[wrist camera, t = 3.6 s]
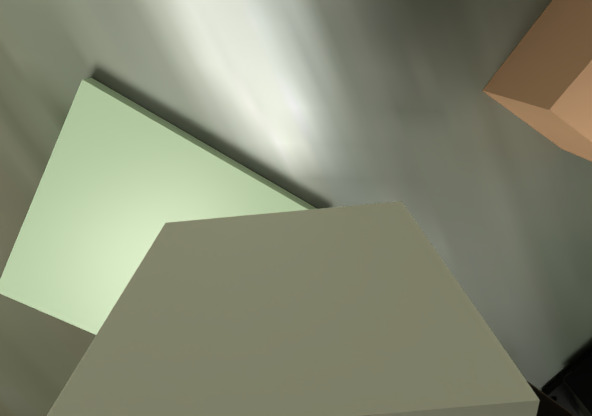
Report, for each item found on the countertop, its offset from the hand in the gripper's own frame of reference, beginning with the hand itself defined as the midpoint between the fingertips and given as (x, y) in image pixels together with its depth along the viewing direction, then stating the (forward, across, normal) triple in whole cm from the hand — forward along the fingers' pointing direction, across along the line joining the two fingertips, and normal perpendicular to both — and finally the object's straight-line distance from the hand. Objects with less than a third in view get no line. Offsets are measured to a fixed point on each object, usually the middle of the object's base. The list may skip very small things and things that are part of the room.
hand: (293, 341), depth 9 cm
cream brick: (+1, 0, 0) cm, 1 cm away
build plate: (+11, +7, +3) cm, 14 cm away
